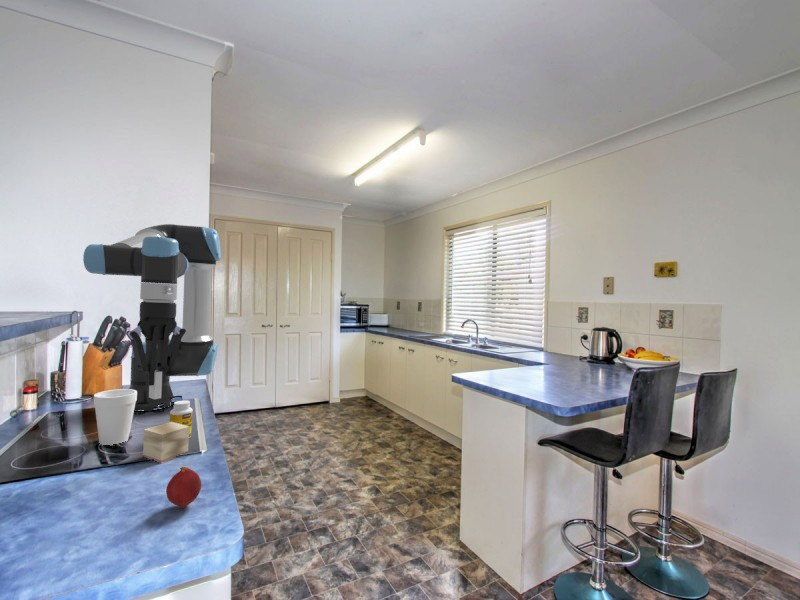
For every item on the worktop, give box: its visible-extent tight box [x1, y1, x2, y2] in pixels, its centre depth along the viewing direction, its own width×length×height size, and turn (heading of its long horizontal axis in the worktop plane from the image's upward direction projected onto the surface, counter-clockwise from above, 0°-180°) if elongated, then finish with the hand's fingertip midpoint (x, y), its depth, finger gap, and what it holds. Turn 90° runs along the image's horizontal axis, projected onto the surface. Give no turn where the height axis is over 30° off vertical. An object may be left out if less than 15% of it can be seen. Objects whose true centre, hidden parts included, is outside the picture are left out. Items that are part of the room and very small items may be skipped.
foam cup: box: [93, 388, 137, 446], centre depth 103 cm, size 10×9×13 cm
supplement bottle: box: [169, 399, 194, 439], centre depth 107 cm, size 6×6×10 cm
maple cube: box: [142, 421, 190, 464], centre depth 96 cm, size 7×7×7 cm
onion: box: [166, 465, 202, 509], centre depth 73 cm, size 6×6×8 cm
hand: (155, 397), depth 93 cm, fingers closed
